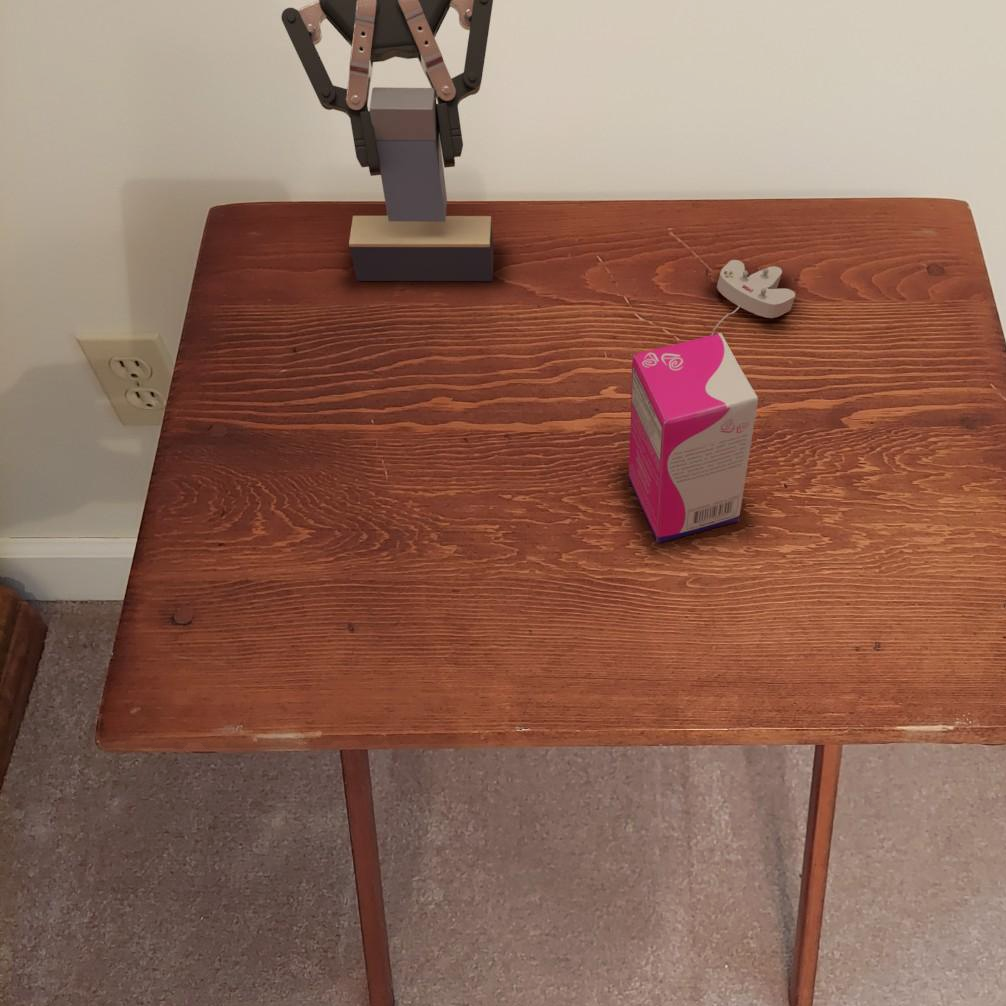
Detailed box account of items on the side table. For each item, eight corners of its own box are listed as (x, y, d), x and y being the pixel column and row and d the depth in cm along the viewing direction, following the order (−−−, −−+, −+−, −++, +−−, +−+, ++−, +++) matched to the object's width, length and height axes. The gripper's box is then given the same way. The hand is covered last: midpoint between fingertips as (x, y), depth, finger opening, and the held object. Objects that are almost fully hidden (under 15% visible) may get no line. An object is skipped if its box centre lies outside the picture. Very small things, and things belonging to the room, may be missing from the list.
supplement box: (707, 454, 78) (724, 328, 69) (740, 522, 75) (764, 401, 66) (624, 475, 77) (631, 350, 68) (655, 545, 74) (666, 425, 65)
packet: (387, 222, 83) (369, 108, 75) (390, 200, 84) (372, 86, 76) (445, 222, 83) (432, 108, 75) (447, 201, 84) (434, 87, 76)
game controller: (802, 286, 87) (808, 259, 85) (754, 395, 81) (759, 369, 79) (729, 265, 88) (733, 238, 86) (677, 372, 82) (680, 345, 80)
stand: (356, 281, 87) (348, 243, 84) (360, 253, 88) (352, 215, 85) (492, 281, 87) (489, 244, 84) (494, 253, 88) (491, 215, 85)
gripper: (479, -103, 78) (514, 166, 82) (262, -85, 77) (309, 189, 81) (484, -149, 71) (523, 149, 75) (245, -130, 70) (297, 174, 73)
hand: (412, 168), depth 78 cm, fingers closed on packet, 4 cm apart
